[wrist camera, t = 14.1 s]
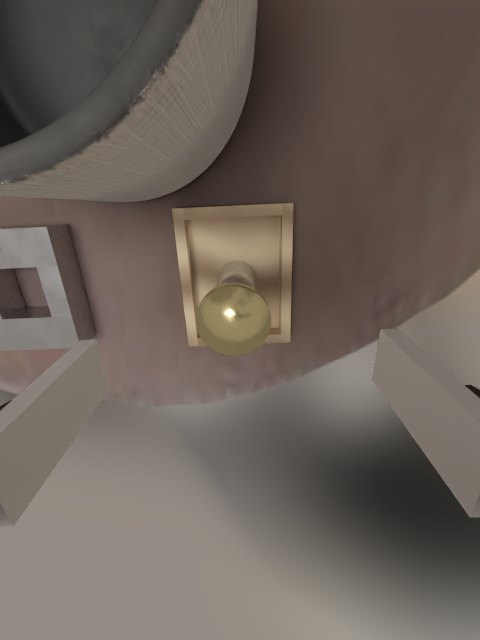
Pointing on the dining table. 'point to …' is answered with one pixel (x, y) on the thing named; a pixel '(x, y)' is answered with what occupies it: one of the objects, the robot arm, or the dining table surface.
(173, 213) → the tray
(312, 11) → the dining table surface
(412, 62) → the dining table surface
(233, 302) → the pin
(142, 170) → the planter
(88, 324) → the block
